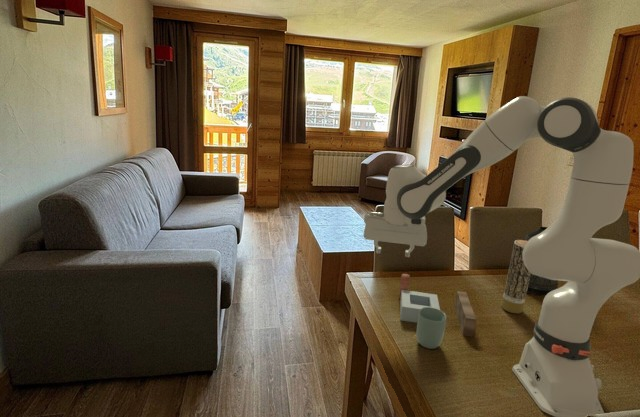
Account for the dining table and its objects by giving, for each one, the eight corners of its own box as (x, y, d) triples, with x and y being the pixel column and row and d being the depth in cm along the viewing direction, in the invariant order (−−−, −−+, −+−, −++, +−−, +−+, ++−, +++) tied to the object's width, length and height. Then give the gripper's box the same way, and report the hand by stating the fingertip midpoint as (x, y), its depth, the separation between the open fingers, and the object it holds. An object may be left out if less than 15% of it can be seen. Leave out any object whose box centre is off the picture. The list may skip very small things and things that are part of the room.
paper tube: (524, 315, 130) (540, 248, 123) (503, 312, 131) (517, 245, 124) (519, 306, 136) (533, 241, 130) (499, 303, 137) (512, 238, 131)
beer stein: (531, 275, 163) (543, 220, 157) (573, 297, 145) (588, 236, 139) (501, 279, 158) (512, 222, 151) (540, 301, 140) (555, 238, 134)
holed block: (438, 326, 120) (440, 312, 119) (400, 320, 122) (402, 306, 121) (434, 307, 132) (436, 294, 130) (400, 302, 134) (401, 289, 132)
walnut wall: (473, 336, 116) (476, 319, 114) (462, 335, 116) (465, 317, 115) (463, 307, 133) (466, 292, 131) (454, 306, 133) (457, 291, 132)
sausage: (407, 300, 135) (410, 277, 133) (398, 299, 136) (401, 276, 133) (407, 296, 138) (409, 274, 136) (398, 295, 139) (401, 273, 136)
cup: (437, 356, 105) (442, 324, 103) (410, 345, 109) (415, 315, 107) (444, 342, 112) (449, 312, 109) (419, 333, 116) (423, 304, 113)
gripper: (363, 213, 119) (360, 253, 123) (430, 221, 115) (424, 262, 119) (365, 208, 125) (362, 247, 129) (429, 215, 121) (423, 254, 125)
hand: (392, 254), depth 124 cm, fingers open, 8 cm apart
